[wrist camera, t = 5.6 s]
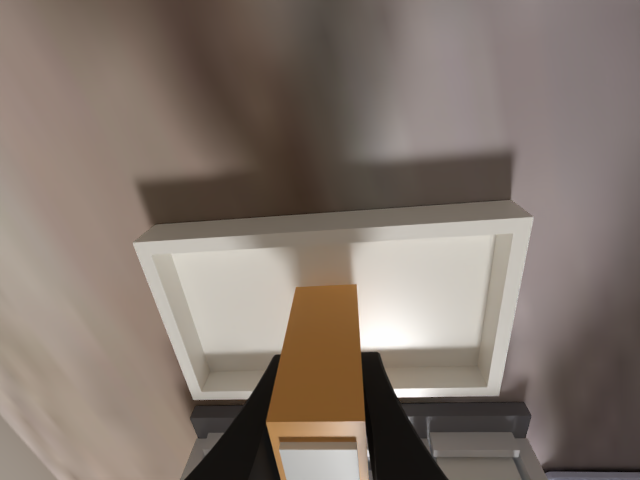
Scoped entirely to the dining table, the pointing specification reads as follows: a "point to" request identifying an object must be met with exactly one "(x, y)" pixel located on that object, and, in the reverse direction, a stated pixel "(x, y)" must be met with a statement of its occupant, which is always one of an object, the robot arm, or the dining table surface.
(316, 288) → the block
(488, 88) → the dining table surface
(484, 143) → the dining table surface
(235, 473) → the robot arm
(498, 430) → the fuse block
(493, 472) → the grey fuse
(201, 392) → the tray
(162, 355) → the dining table surface
